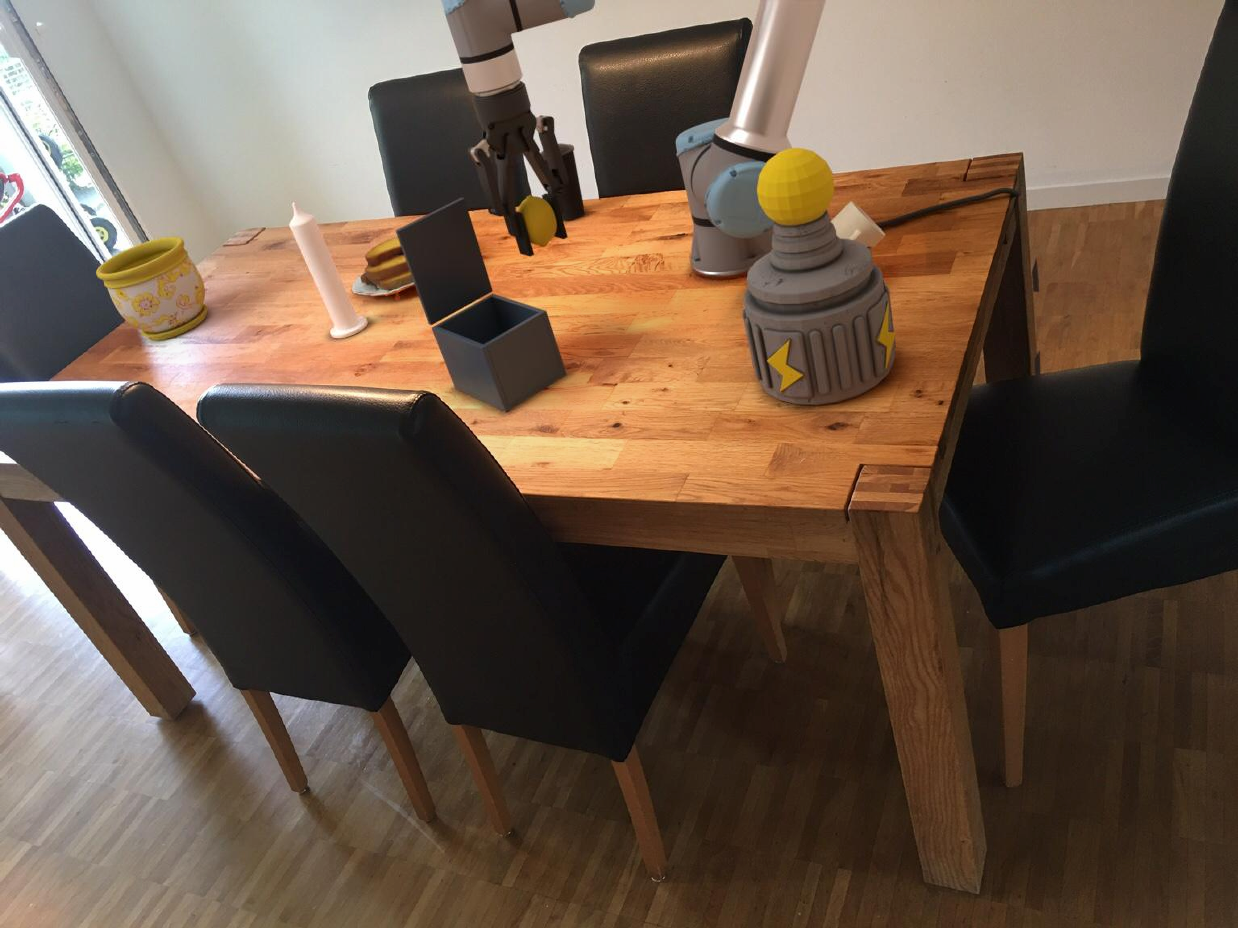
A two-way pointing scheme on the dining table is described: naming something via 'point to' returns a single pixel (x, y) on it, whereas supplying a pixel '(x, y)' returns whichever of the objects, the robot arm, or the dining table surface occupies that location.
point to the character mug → (857, 226)
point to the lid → (445, 260)
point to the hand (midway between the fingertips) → (544, 245)
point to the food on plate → (384, 271)
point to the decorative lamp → (814, 294)
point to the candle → (325, 275)
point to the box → (500, 351)
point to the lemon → (538, 220)
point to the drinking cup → (570, 185)
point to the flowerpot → (156, 287)
